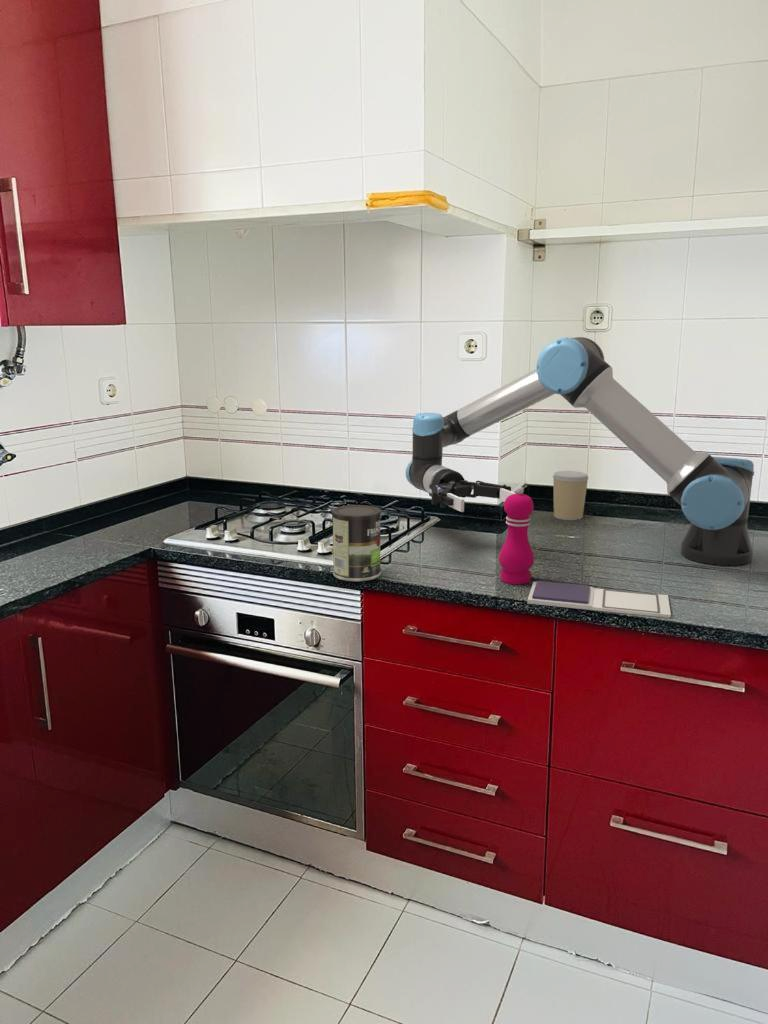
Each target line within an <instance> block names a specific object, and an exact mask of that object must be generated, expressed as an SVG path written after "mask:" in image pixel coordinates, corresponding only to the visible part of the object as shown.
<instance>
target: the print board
mask: <svg viewBox="0 0 768 1024" xmlns="http://www.w3.org/2000/svg"><path fill="white" fill-rule="evenodd" d="M591 611H598V612H610V613H618V614H628V615H637V616H638V615H639V616H648V617H655V618H657V617H658V618H666V619H667V618H668V619H671V617H672V613H671V607H670V600H669V595H668V594H661V593H660V594H659V593H650V592H648V593H647V592H638V591H628V590H620V589H619V590H617V589H607V588H597V587H596V588H595V587H594V593H593V602H592V610H591Z"/></svg>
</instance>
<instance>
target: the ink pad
mask: <svg viewBox="0 0 768 1024" xmlns="http://www.w3.org/2000/svg"><path fill="white" fill-rule="evenodd" d="M594 588H595V586H590V585H586V584H585V585H584V584H576V583H575V584H573V583H564V582H563V583H562V582H554V581H545V580H544V581H543V580H537V581H533V582H532V586H531V588H530V590H529V594H528V597H527V604H530V605H539V606H547V607H548V606H549V607H550V606H551V607H557V608H569V609H579V610H586V611H588V610H589V611H593V610H592V602H593V593H594Z"/></svg>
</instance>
